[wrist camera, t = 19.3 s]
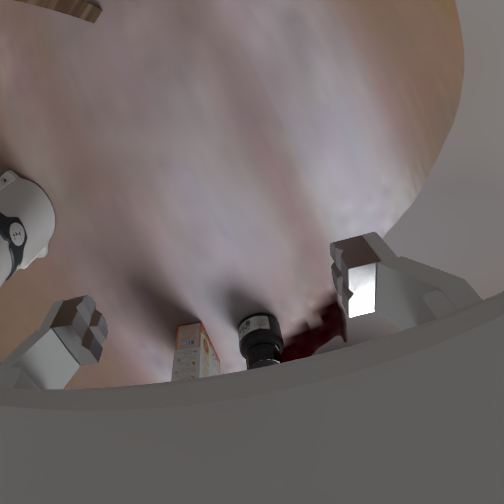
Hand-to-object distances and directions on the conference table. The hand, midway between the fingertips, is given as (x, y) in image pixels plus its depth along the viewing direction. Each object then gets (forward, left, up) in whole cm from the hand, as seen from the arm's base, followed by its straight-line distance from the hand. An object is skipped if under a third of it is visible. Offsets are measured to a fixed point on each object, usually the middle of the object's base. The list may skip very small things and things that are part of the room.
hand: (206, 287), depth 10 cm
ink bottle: (-2, -43, -41) cm, 60 cm away
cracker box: (-16, -45, -41) cm, 63 cm away
